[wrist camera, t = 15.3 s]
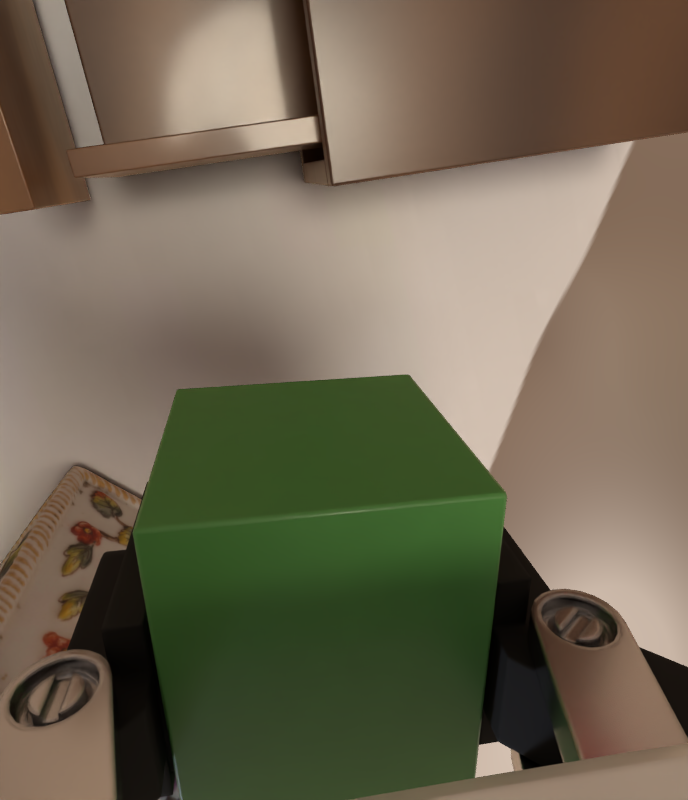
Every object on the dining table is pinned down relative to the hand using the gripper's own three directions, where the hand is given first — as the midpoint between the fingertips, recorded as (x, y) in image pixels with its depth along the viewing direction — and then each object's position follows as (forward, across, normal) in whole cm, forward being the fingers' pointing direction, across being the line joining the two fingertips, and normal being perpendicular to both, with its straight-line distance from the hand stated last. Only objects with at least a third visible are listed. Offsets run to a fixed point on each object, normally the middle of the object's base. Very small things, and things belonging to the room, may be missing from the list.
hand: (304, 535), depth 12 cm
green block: (0, 0, 0) cm, 0 cm away
